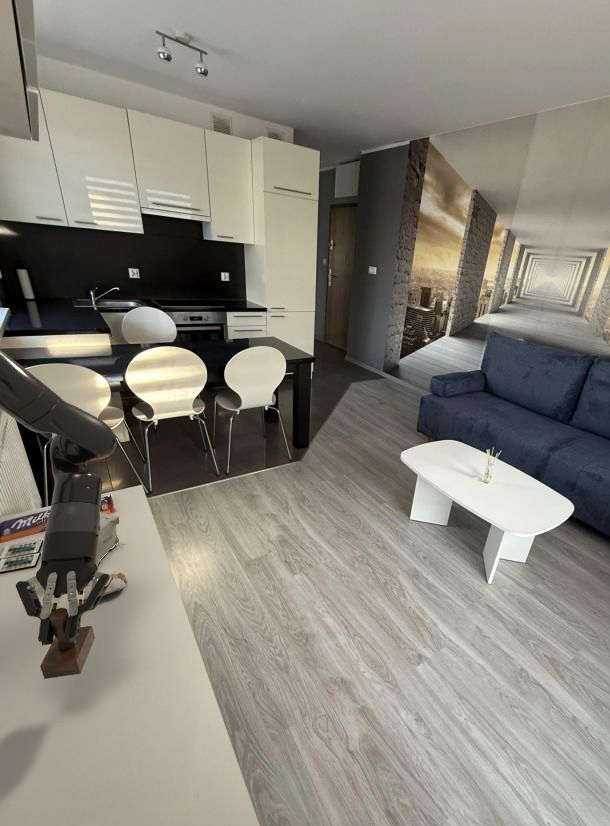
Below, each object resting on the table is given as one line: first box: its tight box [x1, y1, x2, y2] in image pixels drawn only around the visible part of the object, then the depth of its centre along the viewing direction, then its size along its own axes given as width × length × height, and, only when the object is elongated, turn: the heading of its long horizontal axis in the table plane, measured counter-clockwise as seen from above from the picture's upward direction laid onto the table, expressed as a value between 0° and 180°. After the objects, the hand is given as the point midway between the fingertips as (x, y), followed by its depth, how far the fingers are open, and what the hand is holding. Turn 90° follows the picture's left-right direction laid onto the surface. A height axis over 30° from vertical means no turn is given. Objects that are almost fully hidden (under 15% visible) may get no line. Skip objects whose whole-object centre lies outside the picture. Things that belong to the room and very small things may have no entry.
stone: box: [84, 571, 128, 601], centre depth 90 cm, size 10×7×3 cm
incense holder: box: [96, 511, 120, 567], centre depth 99 cm, size 10×8×10 cm
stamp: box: [39, 607, 96, 680], centre depth 64 cm, size 5×7×10 cm
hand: (58, 642), depth 62 cm, fingers closed on stamp, 2 cm apart
